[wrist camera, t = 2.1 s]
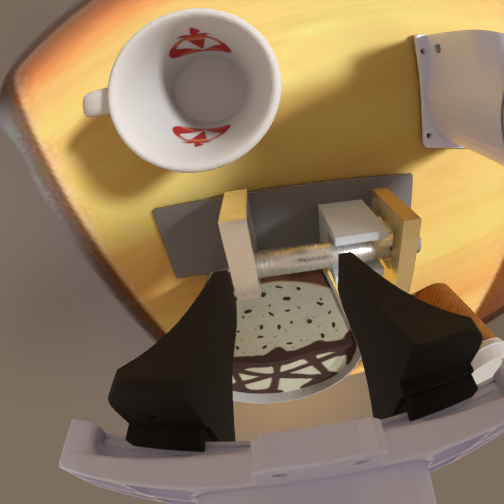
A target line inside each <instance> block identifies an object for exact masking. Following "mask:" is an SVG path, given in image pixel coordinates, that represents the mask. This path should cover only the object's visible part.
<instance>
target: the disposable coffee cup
mask: <svg viewBox="0 0 504 504" xmlns="http://www.w3.org/2000/svg"><path fill="white" fill-rule="evenodd" d="M416 298H418V299H420V300H422V301H424V302H426V303H428V304H431V305H433V306H435V307H438V308H441V309H443V310H446V311H449V312H452V313H456V314H460V315H463V316H467V317H471V318H472V320H473V321H474V323H475V324H476V326H477V327H478V329H479V330H480V332H481V333H482V336H483V339H482V344H481V346H480V348H479V350H478V352H477V354H476V356H475V357H474V359H473V361H472V362H471V365H472V367H473V369H474V372H473V373H472V376H473V378H474V380H475V382H476V384H479V383H481V382H483V381H485V380H487V379H489V378H491V377H493V376H494V374H495V372H496V370H497V369H498V368H499V367H500V366H501V365H502V364H504V341H502V340H500V339H499V338H497V337H495V335H494V334H493V333H492V332H491V331H490V330H489V329H488V327H487V326H486V325H485V324H484V323H483V322H482V321H481V320H480V319H479V318H478V316H477V315H476V314H475V313H474V312H473V311H472V310H471V309H470V308H469V307H468V306H467V305H466V304H465V303H464V302H463V301H462V300H461V299H460V298H459V296H457V295H456V294H455V293H454V292H453V290H451V289H450V287H449V286H447V285H446V284H443V283H438V284H434V285H431V286H429V287H427V288H425V289H424V290H422V291H421V292H420V293H419V294H418V295H417V296H416Z"/></svg>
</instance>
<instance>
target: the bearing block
mask: <svg viewBox="0 0 504 504" xmlns="http://www.w3.org/2000/svg"><path fill="white" fill-rule="evenodd" d="M318 214H319V230H320V242H323V241H330V240H333V242H334V244H335V246H340V245H347V244H354V243H360V242H367V241H374V240H381V239H387V238H388V230H387V228H386V227H385V226H384V225H383V224H382V222H381V221H380V220H379V219H378V218H377V216H376V215H375V214H374V213H373V212H372V211H371V210H370V208H369V207H368V206H367V205H366V204H365V203H364V202H363V200H362V199H361V200H352V201H344V202H335V203H327V204H320V205H318ZM364 263H366V264H367V265H368V266H369V267H371V268H372V269H373V270H374V271H376V272H377V273H378V274H380V275H381V276H383V275H384V267H383V266H382V264H381V262H380V261H379V260H374V261H368V262H364ZM330 271H331V273H332V276H333V278H334V281H335V284H337V283H338V266H337V267H331V268H330Z"/></svg>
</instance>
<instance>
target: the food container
mask: <svg viewBox="0 0 504 504" xmlns="http://www.w3.org/2000/svg"><path fill="white" fill-rule="evenodd" d="M224 270H228V274H229V277H230V281H231V285H232V289H233V293H234V296H235V300H236V304H237V329H236V339H235V348H234V358H233V370H232V379H233V401H238V402H245V403H277V402H285V401H292V400H296V399H300V398H304V397H308V396H311V395H314V394H316V393H319V392H321V391H324V390H325V389H328V388H330V387H331V386H333V385H335V384H337V383H338V382H340V381H341V380H343V379H344V378H345V377H346V376H347V375H349V374H350V373H351V372H352V371H353V369H354V368H355V367H356V366H357V364H358V363H359V361H360V359H361V353H360V350H359V347H358V345H357V342H356V339H355V337H354V334H353V332H352V329H351V327H350V324H349V322H348V319H347V317H346V314H345V312H344V309H343V307H342V303H341V300H340V298H339V296H338V294H337V291H336V289H335V287H334V285H333V283H332V281H331V279H330V277H329V275H328V273H327V271H326V269H318V270H311V271H305V272H298V273H291V274H284V275H277V276H270V277H263V278H260V282H261V298H254V299H246V300H237V297H236V293H235V289H234V285H233V281H232V277H231V273H230V269H224ZM218 271H222V270H218ZM214 272H215V271H211V272H209V276H208V279H207V282H208V280H209V279H210V277H211V275H212V274H213V273H214Z"/></svg>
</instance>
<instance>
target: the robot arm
mask: <svg viewBox="0 0 504 504" xmlns="http://www.w3.org/2000/svg"><path fill="white" fill-rule="evenodd" d="M414 43H415V50H416V57H417V64H418V73H419V83H420V95H421V112H422V143H423V145H424V146H425V147H427V148H467V149H469V150H472V151H474V152H476V153H478V154H480V155H482V156H484V157H487V158H489V159H491V160H493V161H495V162H496V163H498V164H500V165H502V166H504V34H503V33H499V32H493V31H486V30H462V31H453V32H445V33H438V34H431V35H422V34H416V35H415V36H414ZM421 49H422V50H423V54H422V53H421V51H420V50H421ZM428 133H429V137H428V138H427V134H428ZM338 292H339V295H340V299H341V303H342V307H343V309H344V312H345V314H346V317H347V319H348V322H349V324H350V327H351V329H352V332H353V334H354V337H355V339H356V342H357V345H358V347H359V350H360V353H361V357H362V361H363V365H364V369H365V374H366V379H367V383H368V388H369V394H370V399H371V405H372V411H373V417H362V418H354V419H349V420H344V421H339V422H334V423H329V424H324V425H318V426H311V427H305V428H297V429H290V430H281V431H275V432H269V433H264V434H262V435H259V436H257V437H255V438H253V440H251V441H235V430H234V413H233V379H232V370H233V358H234V348H235V339H236V329H237V304H236V300H235V296H234V293H233V289H232V285H231V281H230V277H229V274H228V270H222V271H215V272H214V273H213V274H212V275H211V277H210V279H209V280H208V282H207V283H206V285H205V286H204V288H203V290H202V291H201V293H200V294H199V296H198V297H197V298H196V300H195V301H194V303H193V304H192V306H191V307H190V308H189V309H188V311H187V312H186V313H185V315H184V316H183V317H182V318H181V319H180V321H179V322H178V323H177V324H176V325H175V326H174V327H173V328H172V329H171V330H170V331H169V332H168V333H167V334H166V335H165V336H164V337H163V338H161V339H160V340H159V341H158V342H157V343H156V344H155V345H153V346H152V347H151V348H150V349H148V350H147V351H146V352H144V353H143V354H142V355H140V356H139V357H137V358H136V359H134V360H133V361H131V362H129V363H128V364H126V365H124V366H123V367H121V368H119V369H118V370H117V372H116V374H115V377H114V380H113V383H112V386H111V389H110V393H109V396H108V401H109V403H110V405H111V406H112V407H113V409H114V410H115V411H116V412H118V414H120V415H121V416H122V417H123V418H124V419H125V420H126V421H127V422H128V423H129V427H128V431H127V435H119V434H113V433H107V432H105V431H104V430H103V429H102V428H101V427H100V426H98V425H96V424H94V423H91V422H86V421H82V420H76V419H73V420H72V422H71V425H70V428H69V431H68V435H67V438H66V441H65V444H64V448H63V451H62V455H61V458H60V462H59V467H60V468H62V469H64V470H66V471H67V472H69V473H71V474H73V475H75V476H77V477H79V478H81V479H83V480H85V481H87V482H89V483H91V484H93V485H95V486H99V487H102V488H106V489H109V490H113V491H116V492H120V493H123V494H127V495H131V496H135V497H139V498H144V499H148V500H153V501H158V502H163V503H168V504H437V503H436V499H435V494H434V490H433V486H432V481H431V478H430V472H433V471H435V470H437V469H439V468H441V467H443V466H446V465H448V464H450V463H451V462H453V461H455V460H457V459H459V458H461V457H463V456H465V455H467V454H469V453H470V452H472V451H474V450H475V449H477V448H479V447H481V446H482V445H484V444H486V443H487V442H489V441H491V440H492V439H494V438H495V437H497V436H499V435H500V434H502V433H503V432H504V364H502V365H501V366H500V367H499V368H498V369H497V370H496V372H495V374H494V376H493V377H491V378H489V379H487V380H485V381H483V382H481V383H479V384H476V382H475V380H474V378H473V376H472V373H473V372H474V369H473V367H472V365H471V362H472V361H473V359H474V357H475V356H476V354H477V352H478V350H479V348H480V346H481V344H482V339H483V336H482V333H481V332H480V330H479V329H478V327H477V326H476V324H475V323H474V321H473V320H472V318H471V317H467V316H463V315H460V314H456V313H452V312H449V311H446V310H443V309H441V308H438V307H435V306H433V305H431V304H428V303H426V302H424V301H422V300H420V299H418V298H416V297H414V296H412V295H410V294H408V293H407V292H405V291H403V290H402V289H400V288H398V287H397V286H395V285H394V284H392V283H391V282H389V281H388V280H386V279H385V278H384V277H382V276H381V275H380V274H378V273H377V272H376V271H374V270H373V269H372V268H371V267H369V266H368V265H367V264H366V263H364V262H363V261H362V260H361V259H360V258H358V257H357V256H356V255H355V254H353V253H352V252H347V253H340V254H338Z"/></svg>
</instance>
